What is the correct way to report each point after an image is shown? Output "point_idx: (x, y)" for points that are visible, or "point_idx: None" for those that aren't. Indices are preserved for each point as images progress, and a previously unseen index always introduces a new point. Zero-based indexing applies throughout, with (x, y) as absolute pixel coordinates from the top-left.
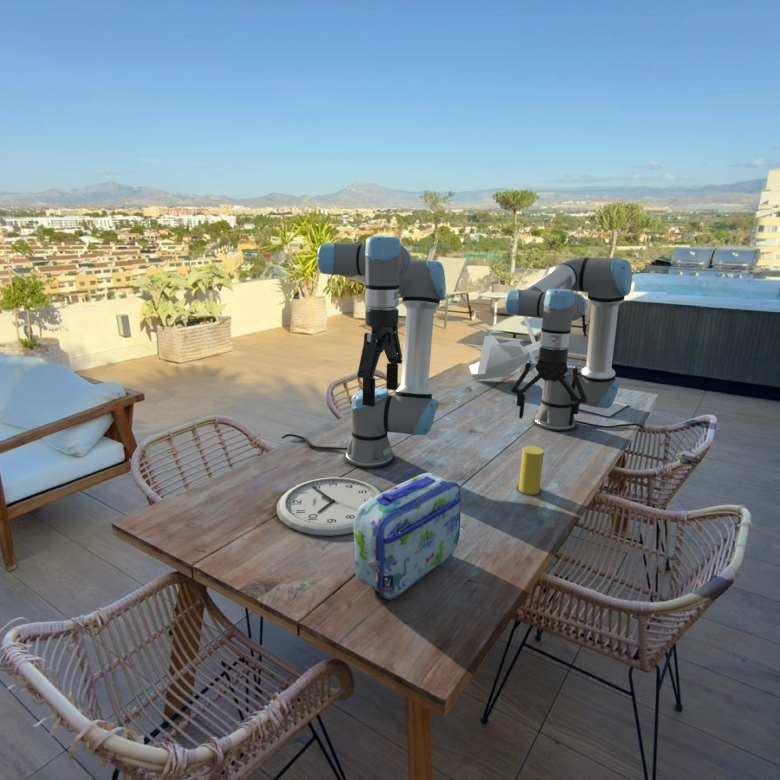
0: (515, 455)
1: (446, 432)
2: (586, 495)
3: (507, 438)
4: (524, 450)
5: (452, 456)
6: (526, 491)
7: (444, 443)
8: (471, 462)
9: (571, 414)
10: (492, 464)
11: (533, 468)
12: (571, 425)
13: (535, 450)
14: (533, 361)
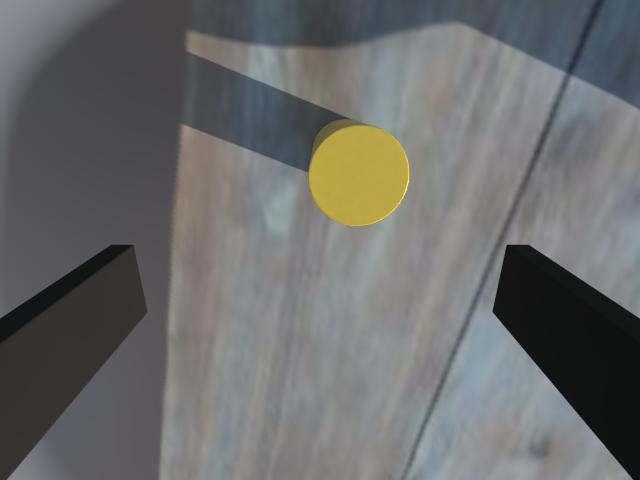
0: (408, 356)
1: None
2: (178, 191)
3: (440, 443)
4: (400, 152)
5: (598, 279)
6: (349, 119)
7: None
8: None
9: (53, 294)
10: (470, 276)
11: (339, 124)
12: (109, 247)
13: (347, 177)
14: None
